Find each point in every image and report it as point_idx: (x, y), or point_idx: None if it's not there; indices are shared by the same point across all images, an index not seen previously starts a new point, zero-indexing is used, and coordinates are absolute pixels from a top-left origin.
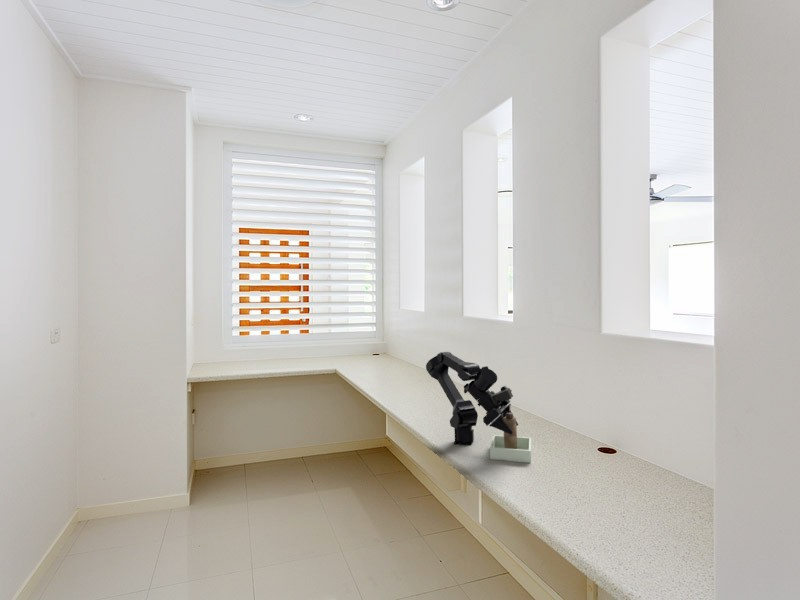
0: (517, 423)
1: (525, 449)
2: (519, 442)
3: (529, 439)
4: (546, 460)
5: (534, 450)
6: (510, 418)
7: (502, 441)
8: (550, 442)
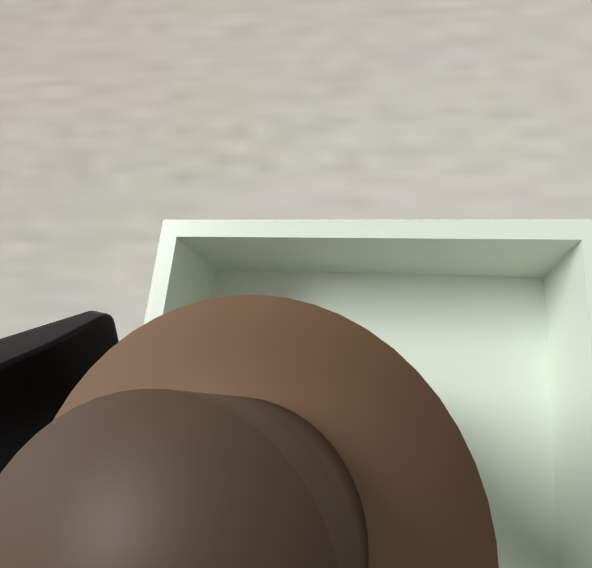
0: (87, 318)
1: None
2: None
3: (217, 234)
4: (445, 150)
5: None
6: (361, 513)
7: None
8: (70, 133)
